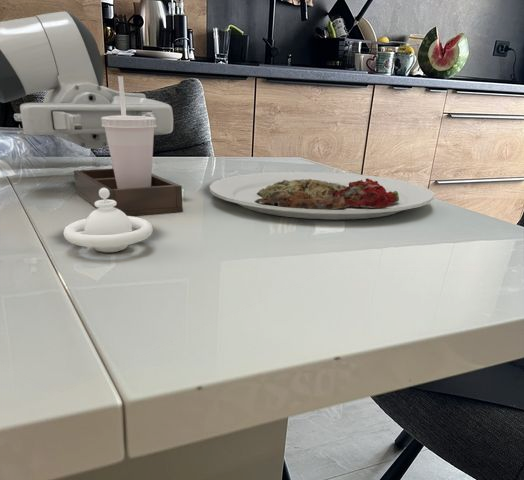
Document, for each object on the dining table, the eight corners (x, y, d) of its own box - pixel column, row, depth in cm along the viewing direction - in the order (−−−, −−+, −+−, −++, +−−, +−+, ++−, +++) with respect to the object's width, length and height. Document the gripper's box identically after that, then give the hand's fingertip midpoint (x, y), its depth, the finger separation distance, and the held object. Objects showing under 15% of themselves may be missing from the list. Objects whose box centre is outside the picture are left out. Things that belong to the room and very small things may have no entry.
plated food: (214, 182, 88) (213, 160, 86) (398, 185, 89) (400, 163, 88) (203, 225, 61) (202, 194, 59) (467, 228, 62) (472, 198, 61)
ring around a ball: (48, 251, 51) (104, 269, 47) (37, 189, 48) (95, 201, 44) (116, 233, 56) (171, 247, 52) (109, 176, 54) (167, 186, 50)
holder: (109, 218, 63) (106, 190, 62) (76, 193, 77) (73, 170, 76) (182, 211, 67) (181, 185, 66) (139, 189, 81) (137, 167, 80)
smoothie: (104, 197, 70) (92, 75, 64) (154, 194, 73) (146, 77, 66) (114, 207, 65) (101, 75, 59) (167, 204, 67) (160, 77, 61)
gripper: (7, 91, 74) (22, 93, 63) (152, 93, 83) (186, 96, 73) (15, 140, 77) (30, 150, 66) (155, 137, 86) (188, 146, 75)
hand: (113, 122), depth 69 cm, fingers open, 8 cm apart
